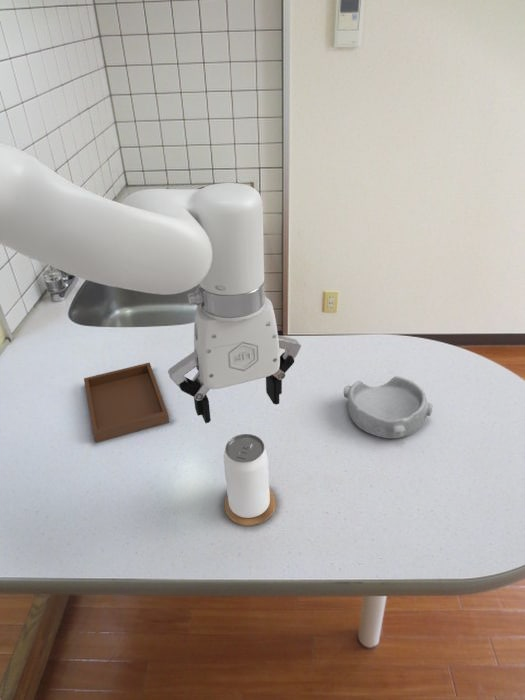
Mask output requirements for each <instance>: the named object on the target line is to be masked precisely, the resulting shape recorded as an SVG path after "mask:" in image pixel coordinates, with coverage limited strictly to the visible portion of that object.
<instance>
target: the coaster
mask: <svg viewBox="0 0 525 700" xmlns="http://www.w3.org/2000/svg"><path fill="white" fill-rule="evenodd" d="M269 491H270V503H269V506H268V508H267V509H266V511H265V512H264V513H262V514H261V515H259V516H256V517H253V518H244V517H240V516H238V515H236V514H235V513H233V512H232V510H231V509H230V507H229V502H228V494H226V497H225V500H224V510H225V514H226V516H227V517H228V518H229V519H230V520H231V521H232V522H234V523H235V524H238V525H240V526H244V527H245V526H246V527H254V526H258V525H261V524H263V523H265V522H267V521H268V520H269V519H270V518H271V517H272V516H273V515H274V513H275V510H276V508H277V507H276V506H277V500H276V496H275V494H274V493H273V491H272V490H271V489H270V488H269Z"/></svg>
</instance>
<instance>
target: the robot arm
mask: <svg viewBox="0 0 525 700" xmlns="http://www.w3.org/2000/svg"><path fill="white" fill-rule="evenodd" d="M264 243H265V242H264V206H263V199H262V196H261V194H260V192H259V191H258V190H257V189H255V188H254V187H252V186H251V185H247V184H244V183H238V182H221V183H214V184H210V185H207V186H204V187H202V188H189V189H188V188H185V189H184V188H147V189H141V190H137V191H135V192H132V193H131V194H130V195H128V196H127V197H125V198H124V199H123V200H122V201H121V202H117V201H115V200H112V199H109V198H106V197H104V196H102V195H98V194H96V193H94V192H92V191H89V190H88V189H85V188H83V187H81V186H79V185H77V184H75V183H73V182H71V181H70V180H67V179H66V178H65V177H63V176H61V175H60V174H58V173H57V172H55V170H53V169H51V168H50V167H49V166H47V165H46V164H44V163H43V162H42V161H41V160H39V159H38V158H36V157H35V156H33V155H31V154H30V153H28V152H26V151H23V150H21V149H19V148H18V147H15V146H13V145H10V144H6V143H4V142H0V245H2V246H5V247H7V248H9V249H11V250H13V251H14V252H17V253H18V254H21V255H23V256H25V257H27V258H29V259H31V260H35V261H36V262H39V263H42V264H45V265H47V266H49V267H52V268H54V269H56V270H59V271H61V272H64V273H67V274H69V275H71V276H74V277H77V278H80V279H83V280H86V281H87V282H92V283H96V284H98V285H99V284H100V285H103V286H108V287H112V288H117V289H124V290H128V291H134V292H140V293H146V294H153V295H161V296H162V295H176V294H181V293H185V292H187V291H190V290H192V289H194V288H195V287H197V288H196V290H194V291H193V292H190V293H189V292H188V293H187V299H188V300H187V301H188V304H189V306H194V305H196V309H195V315H194V325H193V326H194V327H193V351H192V352H191V353H190V354H188V355H187V356H185V357H184V358H182V359H181V360H180V361H178V362H177V363H176V364H174V365H173V366H171V367H170V368H168V371H167V373H168V375H169V378H170V380H172V381H173V383H174V384H175V385H176V386H177V387H178V388H179V389H180V391H181V392H183V393H186V394H187V395H189V396H191V397H193V401H194V402H193V403H194V409H195V412H196V415H197V416H198V417H199V416H201V417H202V419H203V421H204V423H205V424H208V423H211V421H212V419H211V409H210V401H209V398H208V395H207V393H209V391H210V390H220V389H224V388H227V387H228V388H229V387H232V386H233V387H234V386H237V385H240V384H245V383H248V382H249V383H250V382H252V381H253V382H254V381H257V380H261V379H264V378H265V392H266V394H267V396H268V397H269V400H270V401H271V403H272V404H273V405H275V406H276V405H279V404H280V395H282V393H283V379H285V378H286V372H287V371H289V369H290V368H291V367H292V366H293V365H294V363H295V359H296V357H297V355H298V354H299V352H300V349H301V348H302V345H301V343H300V341H298V340H297V339H296V338H291V337H287V336H283V335H279V333H278V327H277V320H276V315H275V310H274V305H273V303H272V301H271V300H270V299H269V298H268V297H267V296H266V290H265V289H266V286H265V283H266V282H265V247H264V245H265V244H264ZM280 349H281V350H284V352H282V353H281V351H280ZM194 369H196V370H197V373H196V374H195V375H194V377H193V378H192V379H190V378H188V377H187V376H186V375H187V374H188V373H189V372H191V371H192V370H194Z"/></svg>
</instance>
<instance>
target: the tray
mask: <svg viewBox="0 0 525 700" xmlns="http://www.w3.org/2000/svg"><path fill="white" fill-rule="evenodd" d="M83 382H84V389H85V393H86V399H87V405H88V410H89V412H88V413H89V416H90V418H89V419H90V423H91V429H92V434H93V438H94V442H95V443H96V444H97V443H100V442H105V441H107V440H111V439H116V438H119V437H122V436H125V435H129V434H133V433H136V432H141V431H143V430H144V431H145V430H147V429H152V428H155V427H159V426H162V425H166V424H169V423H170V418H169V413H168V410H167V407H166V404H165V401H164V399H163V398H164V397H163V395H162V393H161V391H160V387H159V385H158V382H157V378H156V376H155V373H154V371H153V368H152V365H151V362H145V363H141V364H137V365H134V366H128V367H124V368H121V369H117V370H113V371H108V372H104V373H101V374H96V375H91V376H87V377H84V378H83Z"/></svg>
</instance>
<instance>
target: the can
mask: <svg viewBox="0 0 525 700" xmlns="http://www.w3.org/2000/svg"><path fill="white" fill-rule="evenodd" d="M223 468H224V476H225V485H226V495H228V502H229V507H230V509H231V510H232V512H233V513H235V514H236V515H238V516H240V517H244V518H253V517H256V516H259V515H261V514H262V513H264V512H265V511H266V509H267V508H268V506H269V503H270V491H269V489H270V473H269V472H270V470H269V456H268V450H267V448H266V446H265V444H264V441H263V440H262V439H261V438H260V437H259V436H257V435H256V434H255V435H254V434H250V433H241V434H238V435H235V436H233V437H232V438H230V439H229V440H228V441H227V443H226V445H225V449H224V452H223Z"/></svg>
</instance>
